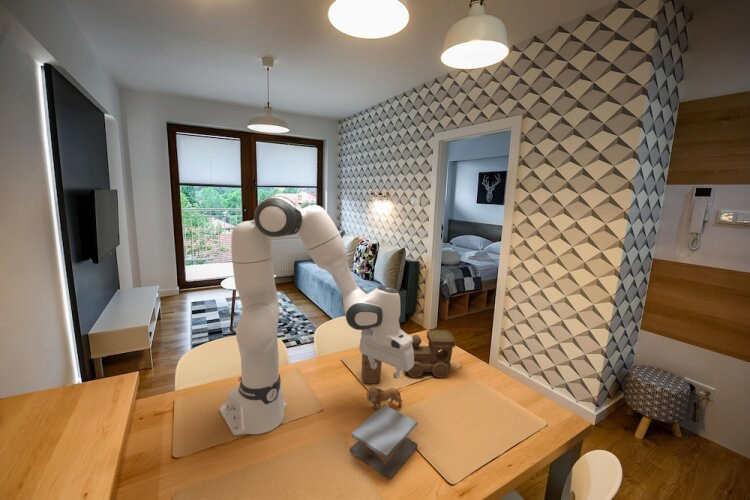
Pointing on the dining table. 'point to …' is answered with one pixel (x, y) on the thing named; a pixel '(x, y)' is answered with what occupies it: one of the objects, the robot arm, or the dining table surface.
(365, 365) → the block
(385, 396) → the lion figurine
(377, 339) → the robot arm
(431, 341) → the wooden toy train
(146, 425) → the dining table surface
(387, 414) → the stand
